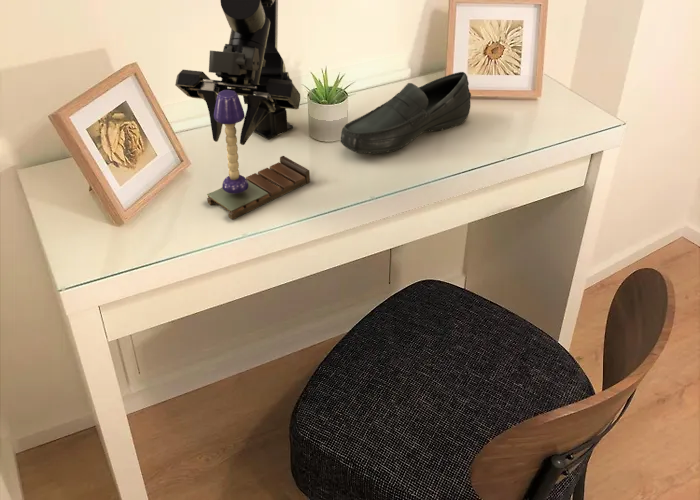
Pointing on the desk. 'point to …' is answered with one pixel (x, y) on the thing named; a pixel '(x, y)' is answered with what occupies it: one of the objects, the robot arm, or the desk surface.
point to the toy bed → (262, 187)
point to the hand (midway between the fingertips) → (228, 142)
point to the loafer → (410, 115)
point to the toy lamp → (231, 137)
